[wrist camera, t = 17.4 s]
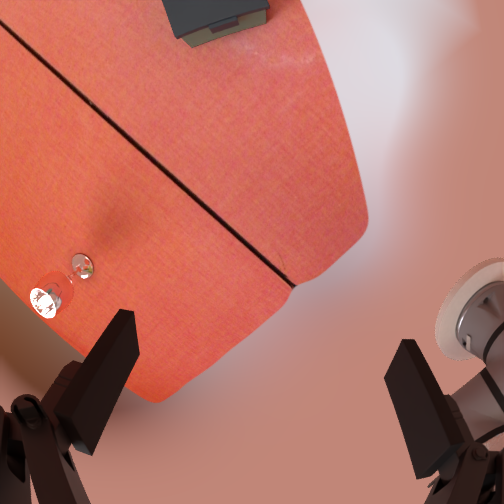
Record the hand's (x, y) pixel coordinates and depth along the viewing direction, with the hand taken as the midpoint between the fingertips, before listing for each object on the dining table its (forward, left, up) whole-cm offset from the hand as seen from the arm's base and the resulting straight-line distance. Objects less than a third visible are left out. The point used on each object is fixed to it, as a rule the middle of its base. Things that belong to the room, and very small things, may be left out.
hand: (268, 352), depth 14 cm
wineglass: (+29, +13, -29) cm, 43 cm away
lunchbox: (+10, -28, -29) cm, 41 cm away
